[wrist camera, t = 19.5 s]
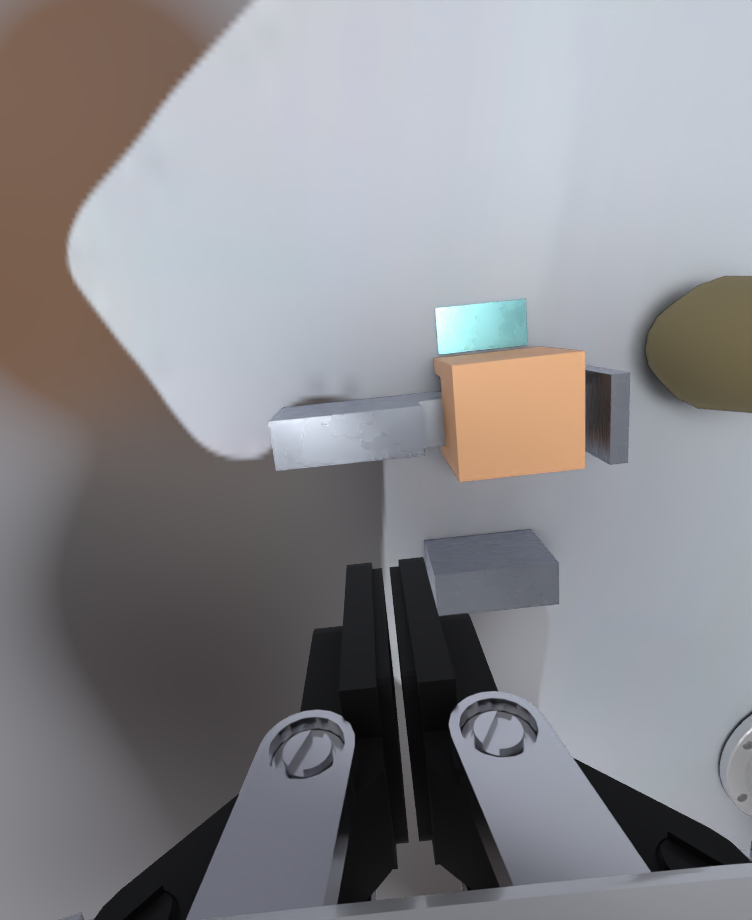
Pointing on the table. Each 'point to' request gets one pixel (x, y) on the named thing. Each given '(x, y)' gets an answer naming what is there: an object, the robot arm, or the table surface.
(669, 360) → the squeeze bottle
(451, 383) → the block
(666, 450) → the table surface
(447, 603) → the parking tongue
